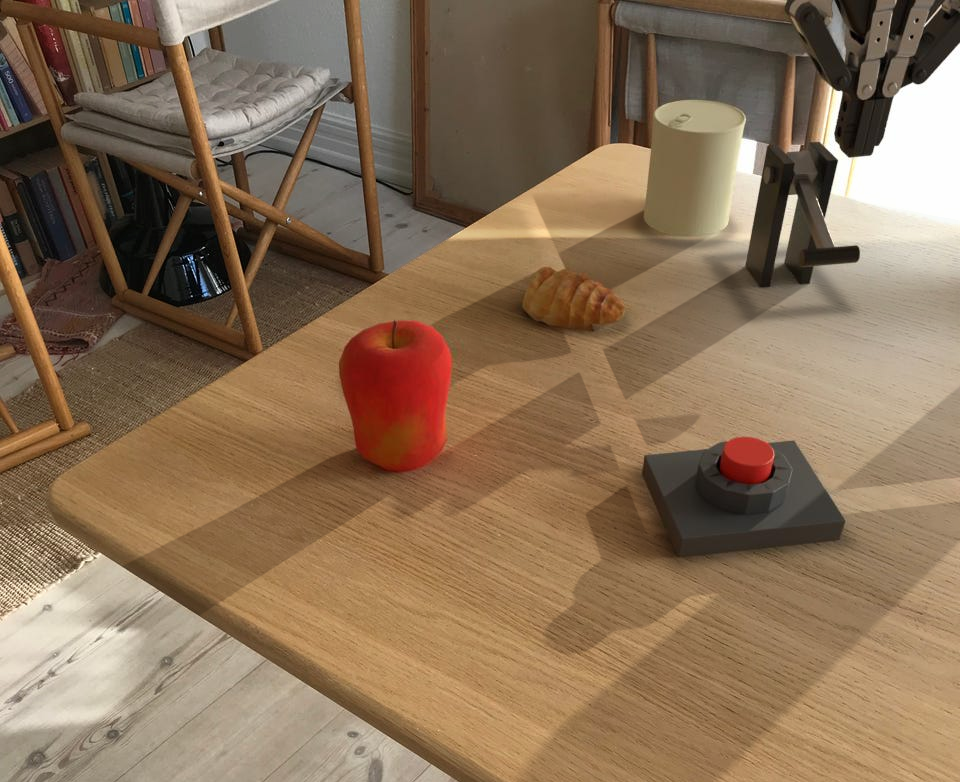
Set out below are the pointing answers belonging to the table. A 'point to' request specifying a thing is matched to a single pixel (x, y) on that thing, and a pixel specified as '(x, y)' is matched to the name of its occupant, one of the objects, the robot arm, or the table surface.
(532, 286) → the pastry
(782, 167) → the bracket
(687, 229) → the can
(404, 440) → the apple
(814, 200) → the lever
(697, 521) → the button box
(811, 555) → the table surface
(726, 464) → the button
